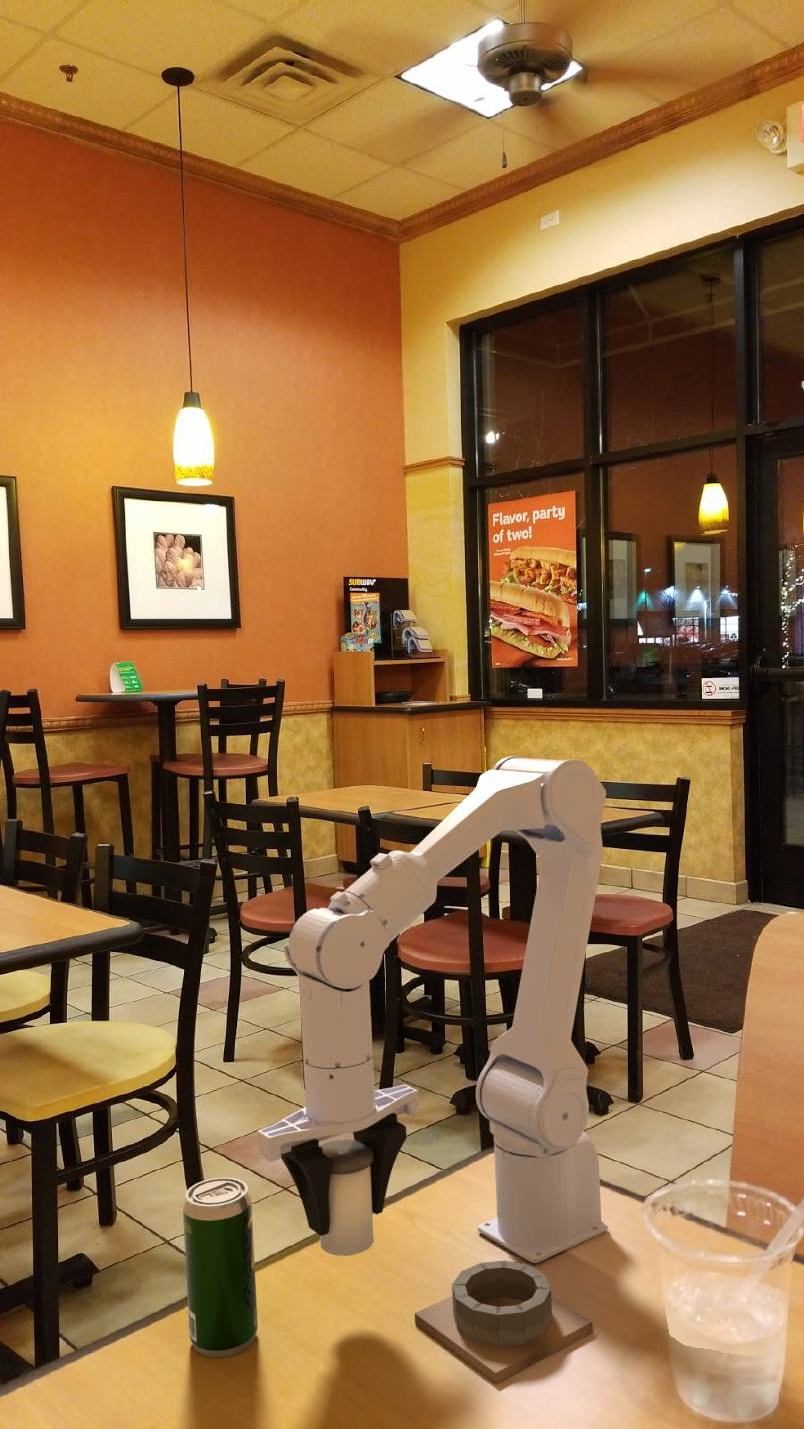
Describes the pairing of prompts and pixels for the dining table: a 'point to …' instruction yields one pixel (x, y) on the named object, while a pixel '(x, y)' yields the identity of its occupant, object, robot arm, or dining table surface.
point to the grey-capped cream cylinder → (349, 1198)
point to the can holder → (502, 1318)
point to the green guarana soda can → (220, 1267)
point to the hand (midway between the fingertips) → (346, 1219)
